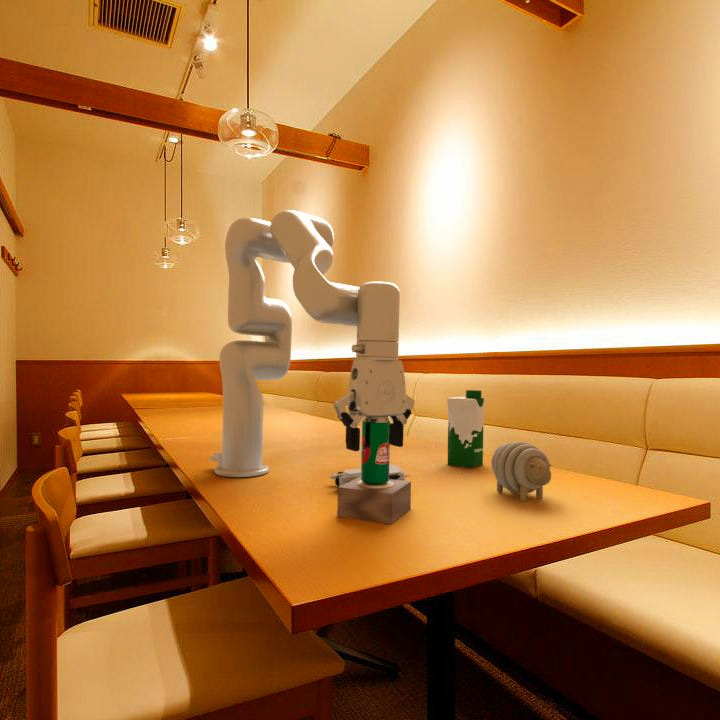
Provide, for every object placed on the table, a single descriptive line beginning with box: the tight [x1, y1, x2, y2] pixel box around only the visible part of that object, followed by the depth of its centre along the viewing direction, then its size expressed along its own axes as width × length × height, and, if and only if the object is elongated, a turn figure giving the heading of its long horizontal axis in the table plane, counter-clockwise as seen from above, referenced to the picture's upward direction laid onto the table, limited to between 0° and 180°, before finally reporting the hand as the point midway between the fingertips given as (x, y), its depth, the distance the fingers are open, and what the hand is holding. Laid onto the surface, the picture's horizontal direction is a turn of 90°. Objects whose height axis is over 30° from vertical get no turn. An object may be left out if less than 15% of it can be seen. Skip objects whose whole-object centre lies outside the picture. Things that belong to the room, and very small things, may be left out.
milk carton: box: [446, 389, 486, 469], centre depth 135 cm, size 9×9×20 cm
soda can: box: [360, 416, 391, 486], centre depth 90 cm, size 5×5×12 cm
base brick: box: [336, 476, 412, 525], centre depth 90 cm, size 10×10×5 cm
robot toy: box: [330, 463, 411, 487], centre depth 107 cm, size 12×4×15 cm
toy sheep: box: [491, 441, 552, 503], centre depth 104 cm, size 11×17×11 cm, turn 25°
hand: (375, 447), depth 90 cm, fingers open, 9 cm apart
